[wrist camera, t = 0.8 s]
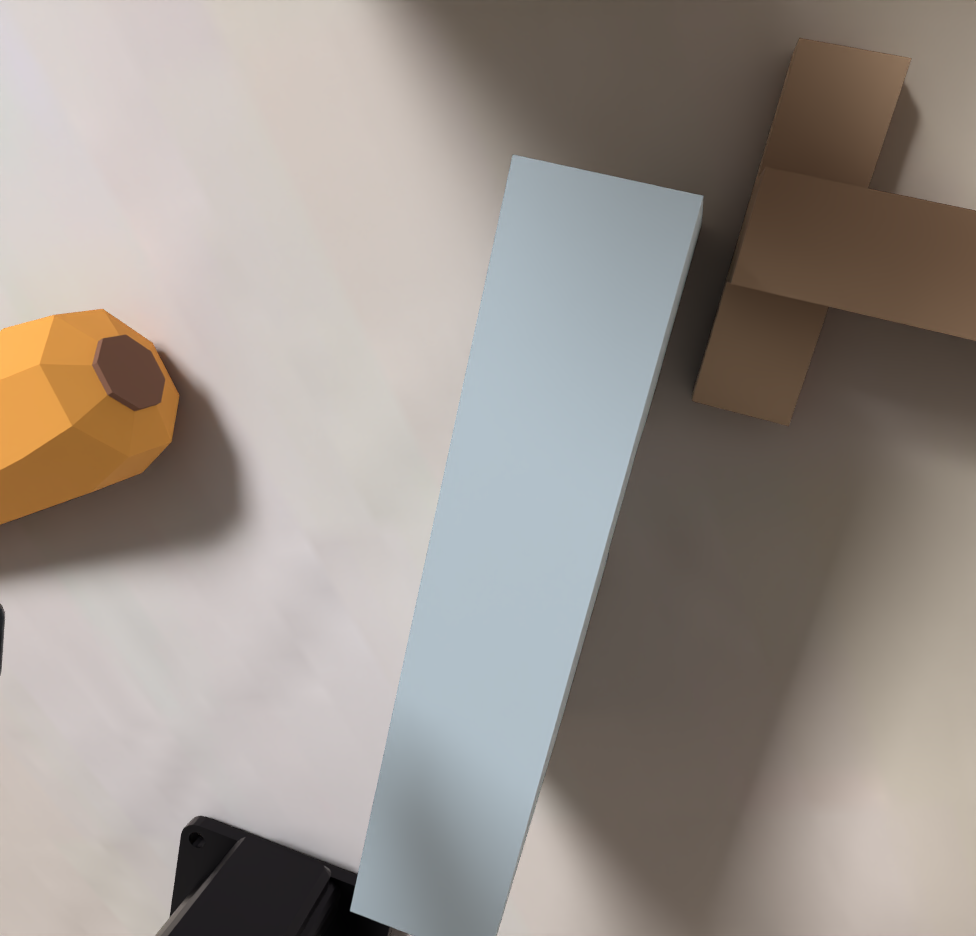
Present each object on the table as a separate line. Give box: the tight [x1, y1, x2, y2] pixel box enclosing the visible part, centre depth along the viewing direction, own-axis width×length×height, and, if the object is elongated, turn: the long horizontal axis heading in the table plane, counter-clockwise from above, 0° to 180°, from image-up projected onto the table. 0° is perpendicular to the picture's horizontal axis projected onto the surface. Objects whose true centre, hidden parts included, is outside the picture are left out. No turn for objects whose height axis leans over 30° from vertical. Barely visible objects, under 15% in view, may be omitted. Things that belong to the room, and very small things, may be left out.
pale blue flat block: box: [350, 155, 703, 936], centre depth 16 cm, size 12×2×8 cm, turn 167°
